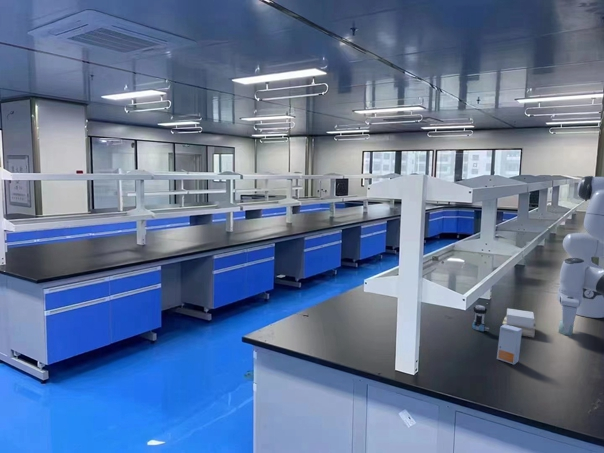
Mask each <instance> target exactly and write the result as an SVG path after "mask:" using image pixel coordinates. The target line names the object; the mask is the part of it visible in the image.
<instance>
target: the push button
mask: <svg viewBox="0 0 604 453" xmlns="http://www.w3.org/2000/svg"><path fill="white" fill-rule="evenodd" d="M487 311H488V308H486V306H485V305H481V304H476V305H475V306H474V307H473V312H474V320H473V322H472V325H471V327H472V330H475V331H479V332H484V331H487V332H488V331H489V329H490V328H489V327H486V323H485V315H486V314H487Z"/></svg>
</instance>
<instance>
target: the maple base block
mask: <svg viewBox="0 0 604 453" xmlns="http://www.w3.org/2000/svg"><path fill="white" fill-rule="evenodd" d="M506 317H507V315H505V316H504V319H503V320H502V325H504V324H506ZM536 324H537V321H535V320H534V327H533V328H529V327H522V326H516V325H510V324H506V325H509V326H514V327H517V328H521V329H522V335H521V336H523V337H529V338H533V339H534V338H535V333H536ZM502 325H501V326H502Z"/></svg>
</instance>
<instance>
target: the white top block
mask: <svg viewBox="0 0 604 453" xmlns="http://www.w3.org/2000/svg"><path fill="white" fill-rule="evenodd" d="M506 316H507V317H506V324H510V325H516V326H522V327H529V328H533V327H534V321H535V315H534V311H528V310H521V309H515V308H508V307H507V309H506Z"/></svg>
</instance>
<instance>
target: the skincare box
mask: <svg viewBox="0 0 604 453" xmlns="http://www.w3.org/2000/svg"><path fill="white" fill-rule="evenodd" d="M522 336H523V335H522V329H521V328H517V327H514V326H509V325H506V324H504V325H501V326H500V328H499V335H498V345H497V354H496V360H500V361H501V362H505V363H508V364H512V365H513V366H514V365H516V364H517V363H518V362H519V360H520V359H519V358H520V350H521V342H522Z"/></svg>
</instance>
